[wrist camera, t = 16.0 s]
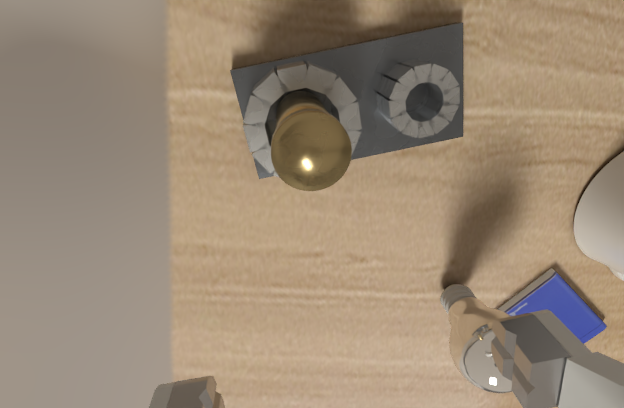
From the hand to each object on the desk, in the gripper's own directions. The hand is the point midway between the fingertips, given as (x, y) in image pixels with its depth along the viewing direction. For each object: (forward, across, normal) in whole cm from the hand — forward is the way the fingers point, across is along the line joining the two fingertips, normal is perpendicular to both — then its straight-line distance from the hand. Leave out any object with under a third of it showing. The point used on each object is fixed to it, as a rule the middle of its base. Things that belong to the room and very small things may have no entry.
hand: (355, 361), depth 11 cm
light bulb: (+24, +13, -20) cm, 34 cm away
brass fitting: (+23, 0, +2) cm, 23 cm away
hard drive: (+25, +25, -27) cm, 44 cm away
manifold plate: (+24, +5, +2) cm, 24 cm away
